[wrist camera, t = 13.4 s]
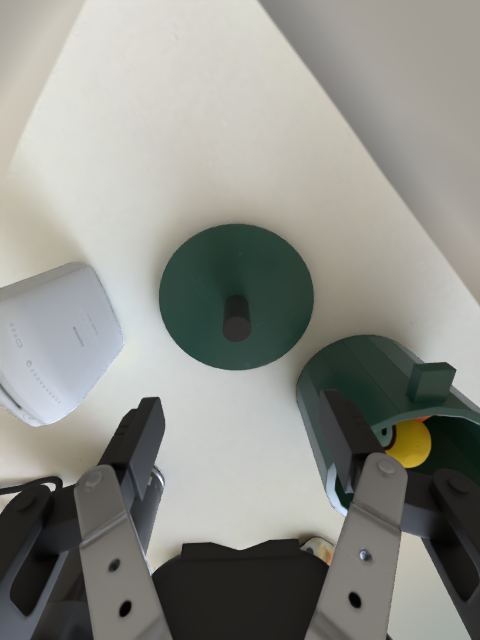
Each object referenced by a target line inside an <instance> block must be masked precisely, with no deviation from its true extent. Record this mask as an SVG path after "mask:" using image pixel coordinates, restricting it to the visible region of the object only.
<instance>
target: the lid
mask: <svg viewBox="0 0 480 640" xmlns="http://www.w3.org/2000/svg"><path fill="white" fill-rule="evenodd" d="M313 303H314V291H313V284H312V280H311V277H310V273H309V271H308V269H307V266H306V264H305V263H304V261H303V259H302V258H301V256H300V255H299V254H298V252H297V251H296V250H295V249H294V248H293V247H292V246H291V245H290V244H289V243H288V242H286V241H285V240H284V239H282V238H281V237H279V236H278V235H276V234H275V233H273V232H270V231H268V230H266V229H264V228H260V227H257V226H253V225H247V224H226V225H220V226H216V227H212V228H209V229H207V230H204V231H202V232H200V233H198V234H197V235H195V236H193V237H192V238H190V239H189V240H188V241H186V242H185V243H184V244H183V245H182V246H181V247H180V248H179V249H178V250H177V251H176V252H175V253H174V254H173V256H172V257H171V259H170V260H169V262H168V264H167V266H166V268H165V270H164V272H163V276H162V279H161V283H160V289H159V305H160V311H161V315H162V319H163V322H164V324H165V326H166V329H167V330H168V332H169V334H170V336H171V337H172V338H173V340H174V341H175V342H176V344H177V345H178V346H179V347H180V348H181V349H182V350H183V351H185V352H186V353H187V354H188V355H190V356H191V357H193V358H194V359H196V360H198V361H200V362H202V363H204V364H206V365H209V366H212V367H215V368H219V369H225V370H248V369H253V368H258V367H261V366H264V365H267V364H269V363H271V362H273V361H275V360H277V359H278V358H280V357H282V356H283V355H284V354H286V353H287V352H288V351H289V350H290V349H291V348H292V347H293V346H294V345H295V344H296V343H297V342H298V341H299V339H300V338H301V337H302V335H303V333H304V332H305V330H306V328H307V326H308V323H309V321H310V318H311V314H312V310H313Z"/></svg>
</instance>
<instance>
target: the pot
mask: <svg viewBox="0 0 480 640" xmlns="http://www.w3.org/2000/svg"><path fill="white" fill-rule="evenodd" d="M455 373H456V369H455V368H454V367H452V366H451V365H449V364H448V363H447V362H439V363H424V362H423V361H422V360H421V359H419V358H418V357H417V356H416V355H415V354H413V353H412V352H411V351H410V350H408V349H407V348H406V347H404V346H402V345H401V344H399V343H398V342H396V341H394V340H392V339H389V338H386V337H382V336H377V335H358V336H352V337H348V338H344V339H341V340H338V341H336V342H334V343H332V344H330V345H328V346H327V347H325V348H323V349H322V350H321V351H319V352H318V353H317V354H316V355H315V356H314V357H312V358H311V359H310V361H309V362H308V363H307V364H306V366H305V367H304V369H303V370H302V372H301V375H300V377H299V380H298V383H297V390H296V393H297V403H298V406H299V410H300V413H301V416H302V419H303V422H304V426H305V429H306V432H307V435H308V438H309V441H310V445H311V448H312V451H313V454H314V457H315V461H316V464H317V467H318V470H319V473H320V476H321V480H322V483H323V486H324V489H325V492H326V494H327V496H328V498H329V501H330V503H331V505H332V507H333V508H334V509H335V510H337V511H338V512H339V513H341V514H342V515H343V516H344V517H346V515H347V512H348V509H349V506H350V503H351V501H352V500H353V498H354V493H345V492H344V489H343V487H342V484H341V481H340V479H339V476H338V473H337V471H336V468H335V465H334V463H333V460H332V457H331V455H330V452H329V449H328V447H327V444H326V441H325V439H324V436H323V433H322V431H321V428H320V425H319V420H318V408H319V398H320V391H321V390H328V389H337V390H338V391H339V393H340V395H341V397H342V399H343V400H347V399H349V400H351V401H352V402H353V403H354V404H355V405H357V406H358V407H359V409H360V411H361V412H362V414H363V416H364V418H365V419H366V421H367V422H368V425H369V426H370V427H371V429H372V431H373V432H374V433H375V432H377V431H380V430H382V429H384V428H386V427H389V426H391V425H393V424H396V423H398V422H400V421H404V420H410V419H416V418H421V417H427V416H431V417H429V418H427V419H426V420H424V421H422V423H423V424H424V425H425V426H426V427H427V429H428V431H429V433H430V437H431V449H430V452H429V455H428V457H427V458H426V460H425V461H424V462H423V463H421V464H420V465H418V466H415V467H411V468H405V469H408V470H411V471H414V472H418V473H422V474H427V475H431V476H433V474H434V472H435V471H436V470H437V469H440V468H448V469H452V470H456V471H458V472H460V473H462V474H464V475H465V476H467V477H469V478H470V479H471V480H472V481H473V482H475V483H476V484H477V486H478V487H479V488H480V408H479V407H478V406H477V405H475V404H474V403H473V402H472V401H471V400H469V399H468V398H467V397H466V396H464V395H463V394H462V393H461V392H460V391H458V390H457V389H456V388H455V387H454V386H452V382H453V379H454V376H455ZM432 415H433V416H432ZM437 415H441V416H437Z"/></svg>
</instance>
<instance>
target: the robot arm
mask: <svg viewBox="0 0 480 640" xmlns="http://www.w3.org/2000/svg"><path fill="white" fill-rule="evenodd" d="M318 420H319V425H320V428H321V431H322V433H323V436H324V439H325V441H326V444H327V447H328V449H329V452H330V455H331V457H332V460H333V463H334V465H335V468H336V471H337V473H338V476H339V479H340V481H341V484H342V487H343V489H344V492H345V493H354V498H353V500H352V501H351V503H350V506H349V509H348V512H347V515H346V518H345V521H344V524H343V527H342V530H341V533H340V536H339V539H338V542H337V545H336V548H335V551H334V554H333V557H332V560H331V563H330V566H329V565H328V564H327V563H326V562H324V561H323V560H322V559H320V558H319V557H317V556H316V555H314V554H312V553H310V552H308V551H305V550H302V549H300V544H299V539H281V540H268V541H266V542H263V543H260V544H258V545H255V546H252V547H250V548H247V549H244V550H236V549H232V548H229V547H225V546H222V545H219V544H215V543H212V542H207V543H183V545H182V551H181V554H180V555H177V556H175V557H173V558H172V559H170V560H168V561H167V562H165V563H164V564H163V565H161V566H160V567H159V568H158V569H157V570H156V571H155V572H154V573H153V574H152V573H151V570H150V568H149V565H148V562H147V559H146V557H145V556H146V553H147V549H148V545H149V541H150V537H151V533H152V530H153V526H154V522H155V518H156V514H157V510H158V506H159V503H160V500H161V496H162V493H163V490H164V486H165V481H164V478H163V476H162V474H161V473H160V472H159V471H158V470H157V469H156V468H155V467H153V466H154V463H155V460H156V457H157V454H158V450H159V447H160V444H161V441H162V438H163V435H164V431H165V418H164V414H163V409H162V405H161V400H160V398H159V397H146V398H143V399H142V400H141V402H140V404H139V406H138V408H137V409H131V410H130V411H129V412H128V413H127V414H126V415H125V416H124V417H123V419H122V420H121V422H120V424H119V426H118V428H117V430H116V432H115V433H114V436H113V437H112V439H111V441H110V443H109V445H108V446H107V448H106V450H105V452H104V454H103V456H102V458H101V459H100V461H99V463H98V465H97V466H96V467H94V468H91V469H90V470H88V471H87V472H86V473H84V474H83V475H82V476H81V477H80V479H79V480H78V481H77V483H76V484H73V485H70V486H67V487H64V488H62V487H63V481H62V480H61V479H60V478H58V477H53V476H52V477H46V478H41V479H37V480H34V481H32V482H29V483H26V484H23V485H20V486H14V487H7V488H2V489H0V495H4V494H10V493H16V492H20V491H22V492H20V493H19V494H18V495H16V496H15V497H14V498H13V499H12V500H11V501H10V502H9V503H8V504H7V506H6V507H5V508H4V510H3V511H2V513H1V514H0V640H393V639H392V638H391V637H390V636H389V635H388V634H387V629H388V622H389V615H390V608H391V601H392V594H393V588H394V581H395V574H396V568H397V561H398V554H399V547H400V541H401V531H403V532H406V533H409V534H413V535H416V536H419V537H421V539H422V541H423V543H424V545H425V547H426V549H427V551H428V553H429V555H430V557H431V559H432V561H433V563H434V565H435V567H436V569H437V571H438V573H439V575H440V577H441V579H442V581H443V583H444V585H445V587H446V589H447V591H448V593H449V595H450V597H451V599H452V601H453V603H454V605H455V607H456V609H457V611H458V613H459V615H460V617H461V619H462V621H463V623H464V625H465V627H466V629H467V631H468V633H469V635H470V637H471V639H472V640H480V488H479V487H478V486H477V484H476V483H475V482H473V481H472V480H471V479H470V478H469V477H467V476H465V475H464V474H462V473H460V472H458V471H456V470H452V469H448V468H440V469H437V470H436V471H435V472H434V474H433V476H431V475H427V474H422V473H418V472H414V471H411V470H408V469H405V468H404V467H403V465H402V464H401V463H400V462H399V461H397V460H396V459H395V458H393V457H391V456H389V455H387V454H386V452H385V450H384V449H383V447H382V446H381V444H380V442H379V441H378V439H377V437H376V436H375V434H374V432H373V431H372V429H371V427H370V426H369V425H368V422H367V421H366V419H365V418H364V416H363V414H362V412H361V411H360V409H359V407H358V406H357V405H355V404H354V403H353V402H352V401H351V400H349V399H347V400H343V399H342V397H341V395H340V393H339V391H338V390H337V389H328V390H321V391H320V398H319V408H318ZM43 483H54V484H55V485H56V489H55V491H52V492H51V491H50V489H49V487H48V486H46V485H40V484H43Z"/></svg>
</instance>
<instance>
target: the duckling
mask: <svg viewBox="0 0 480 640" xmlns="http://www.w3.org/2000/svg"><path fill="white" fill-rule="evenodd" d="M432 416H433V415H432ZM437 416H441V415H437ZM429 417H431V416H427V417H421V418H416V419H410V420H404V421H400V422H398V423H396V424H393V425H391V426H389V427H386V428H384V429H382V430H380V431H377V432H375V433H374V434H375V436H376V437H377V439H378V441H379V442H380V444H381V446H382V447H383V449H384V450H385V452H386V454H387V455H389V456H391V457H393V458H395V459H396V460H397V461H399V462H400V463H401V464H402V465H403V467H404V468H411V467H415V466H418V465H420V464H421V463H423V462H424V461H425V460H426V458H427V457H428V455H429V452H430V449H431V437H430V433H429V431H428V429H427V427H426V426H425V425H424V424H423V423H422V421H424V420H426V419H427V418H429Z"/></svg>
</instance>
